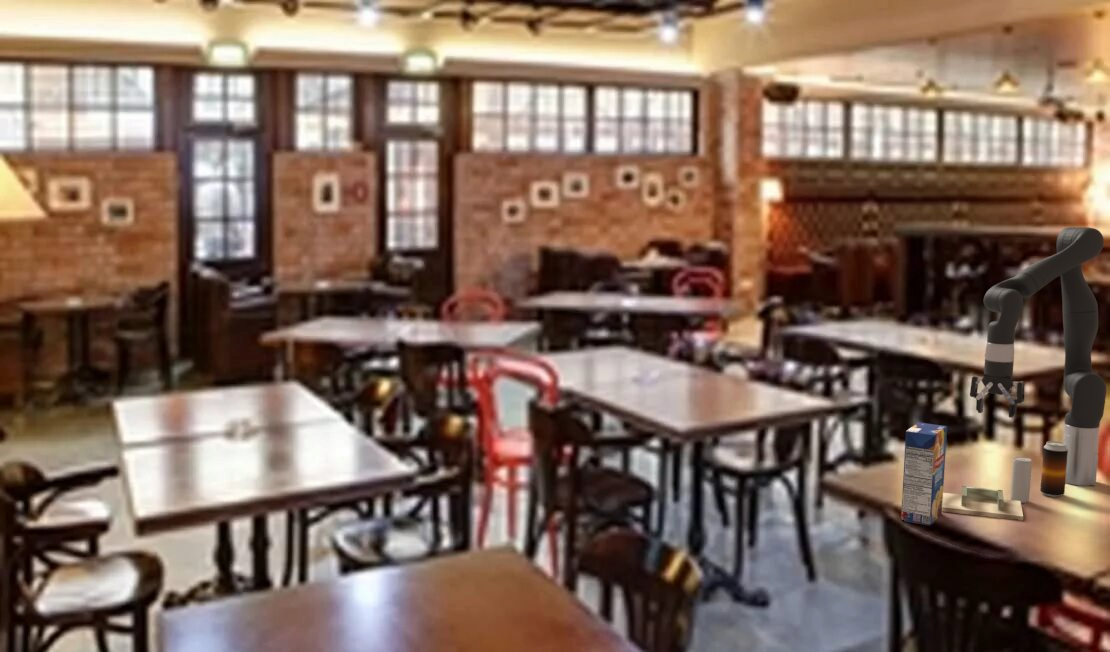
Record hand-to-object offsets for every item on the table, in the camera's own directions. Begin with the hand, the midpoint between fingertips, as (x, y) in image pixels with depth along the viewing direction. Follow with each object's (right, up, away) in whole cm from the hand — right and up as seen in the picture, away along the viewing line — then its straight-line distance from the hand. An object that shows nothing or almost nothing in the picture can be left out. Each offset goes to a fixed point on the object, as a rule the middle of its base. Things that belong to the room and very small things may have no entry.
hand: (995, 414), depth 301 cm
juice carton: (-28, -26, -20) cm, 43 cm away
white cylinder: (+4, -24, -6) cm, 25 cm away
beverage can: (+16, -23, 0) cm, 28 cm away
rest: (-9, -24, -13) cm, 29 cm away
